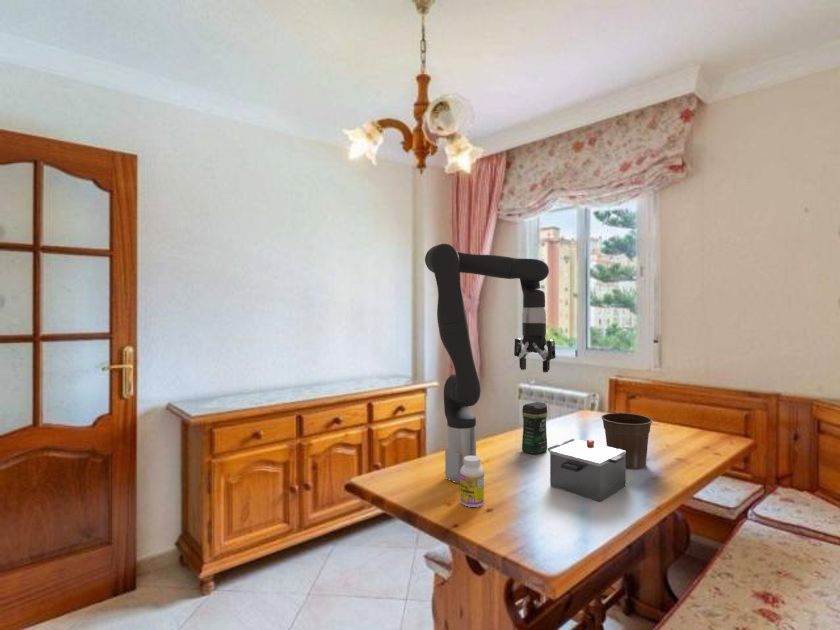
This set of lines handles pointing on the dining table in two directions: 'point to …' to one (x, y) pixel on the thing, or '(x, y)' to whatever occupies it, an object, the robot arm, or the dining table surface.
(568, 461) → the dark grey storage box
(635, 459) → the plant pot
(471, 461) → the supplement bottle
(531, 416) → the coffee jar
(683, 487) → the dining table surface
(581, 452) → the grey box lid
